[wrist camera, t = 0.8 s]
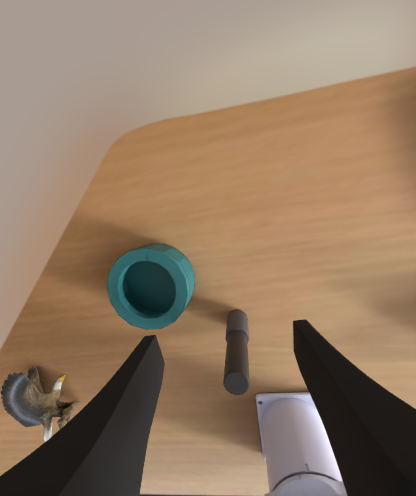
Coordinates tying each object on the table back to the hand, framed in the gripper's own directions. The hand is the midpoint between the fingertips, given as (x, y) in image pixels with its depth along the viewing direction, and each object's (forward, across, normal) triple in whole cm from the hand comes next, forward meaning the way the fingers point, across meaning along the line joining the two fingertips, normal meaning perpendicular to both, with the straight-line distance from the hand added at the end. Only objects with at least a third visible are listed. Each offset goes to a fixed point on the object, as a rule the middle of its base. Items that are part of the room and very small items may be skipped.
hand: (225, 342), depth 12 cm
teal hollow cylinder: (+16, +8, +4) cm, 18 cm away
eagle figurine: (+13, +26, +18) cm, 35 cm away
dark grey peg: (+14, -1, +10) cm, 17 cm away
